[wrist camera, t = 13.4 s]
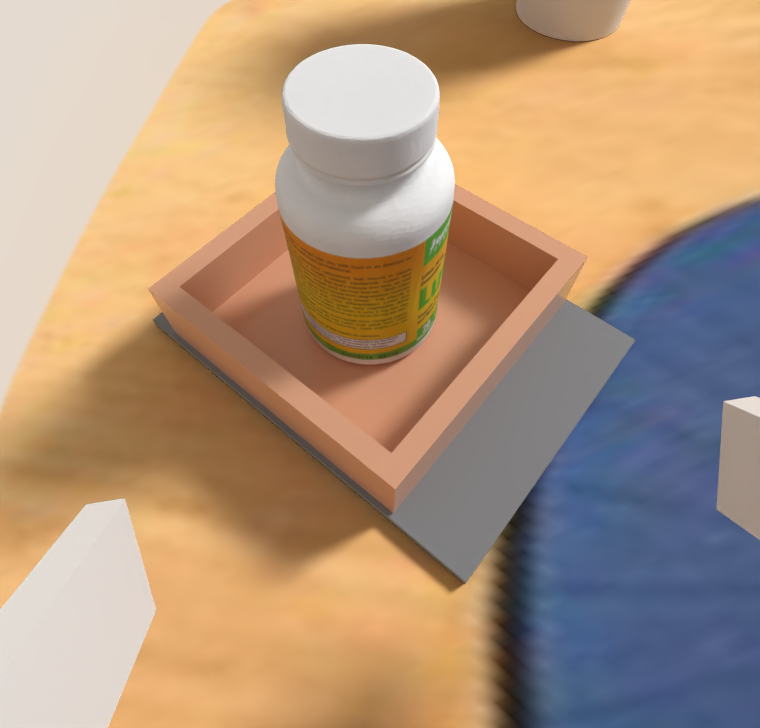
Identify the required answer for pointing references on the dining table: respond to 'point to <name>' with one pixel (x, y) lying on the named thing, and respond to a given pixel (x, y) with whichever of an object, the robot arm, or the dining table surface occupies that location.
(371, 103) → the supplement bottle
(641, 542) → the dining table surface
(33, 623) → the robot arm
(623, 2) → the coffee cup
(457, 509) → the mat
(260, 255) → the dish
